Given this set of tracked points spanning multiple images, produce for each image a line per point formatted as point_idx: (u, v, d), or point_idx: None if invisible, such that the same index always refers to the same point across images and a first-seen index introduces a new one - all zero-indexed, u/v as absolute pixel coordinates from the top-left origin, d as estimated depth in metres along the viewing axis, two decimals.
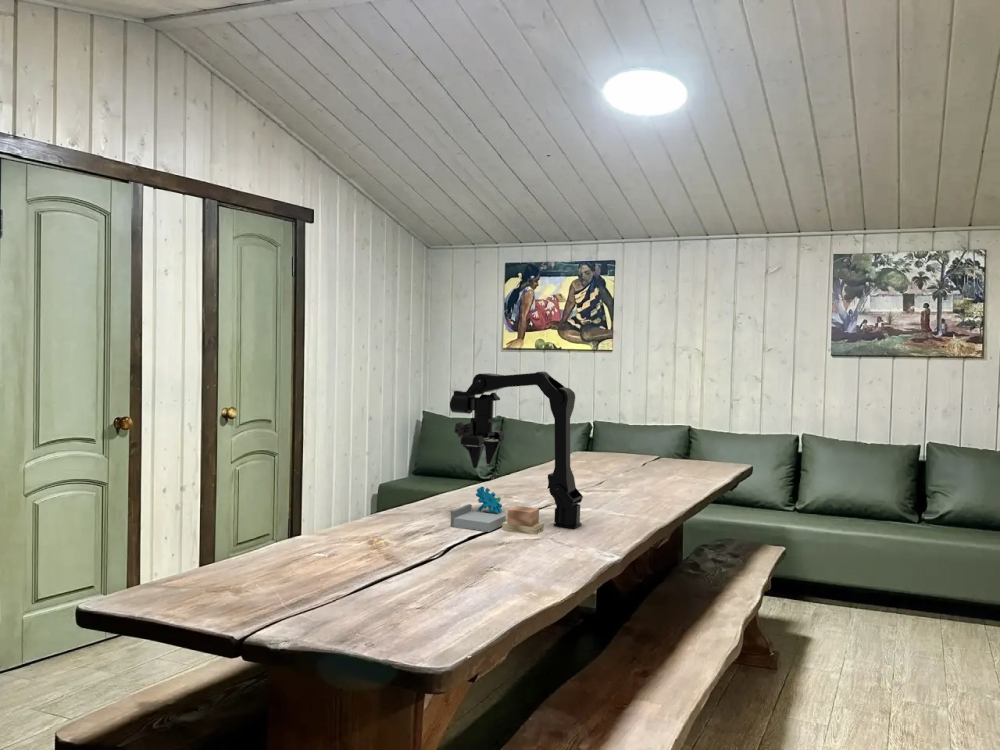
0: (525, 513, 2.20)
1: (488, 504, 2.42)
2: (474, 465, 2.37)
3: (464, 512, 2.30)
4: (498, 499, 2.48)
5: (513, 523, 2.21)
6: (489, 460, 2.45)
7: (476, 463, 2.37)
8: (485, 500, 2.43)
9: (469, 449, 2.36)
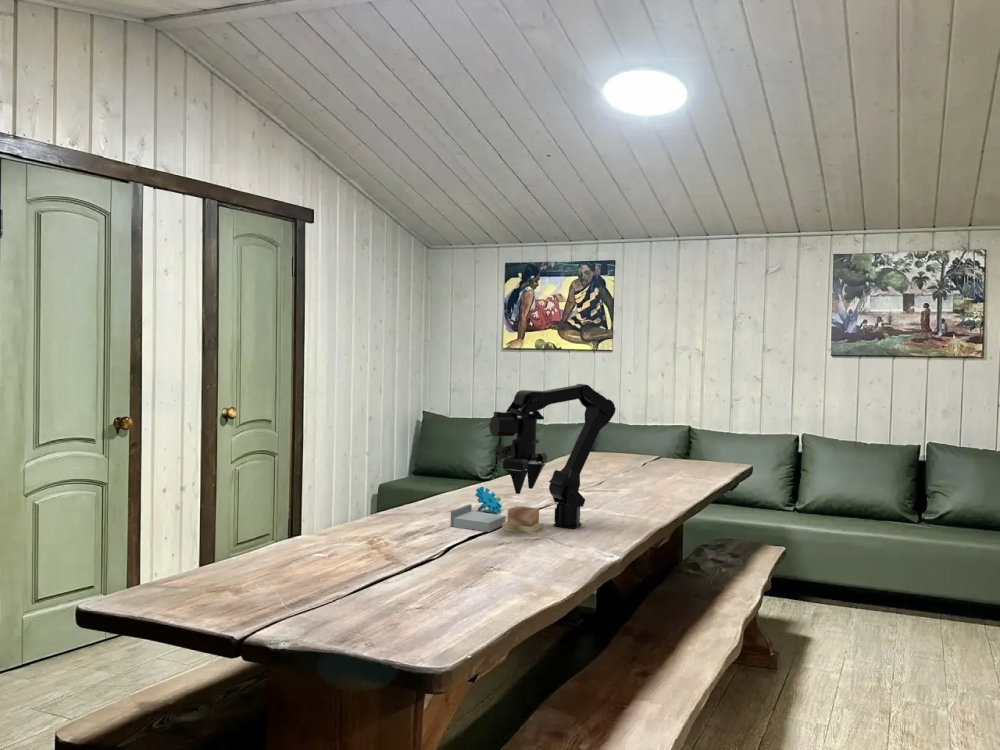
0: (525, 513, 2.20)
1: (488, 504, 2.42)
2: (517, 491, 2.18)
3: (464, 512, 2.30)
4: (498, 499, 2.48)
5: (513, 523, 2.21)
6: (531, 484, 2.27)
7: (519, 488, 2.18)
8: (485, 500, 2.43)
9: (511, 473, 2.17)
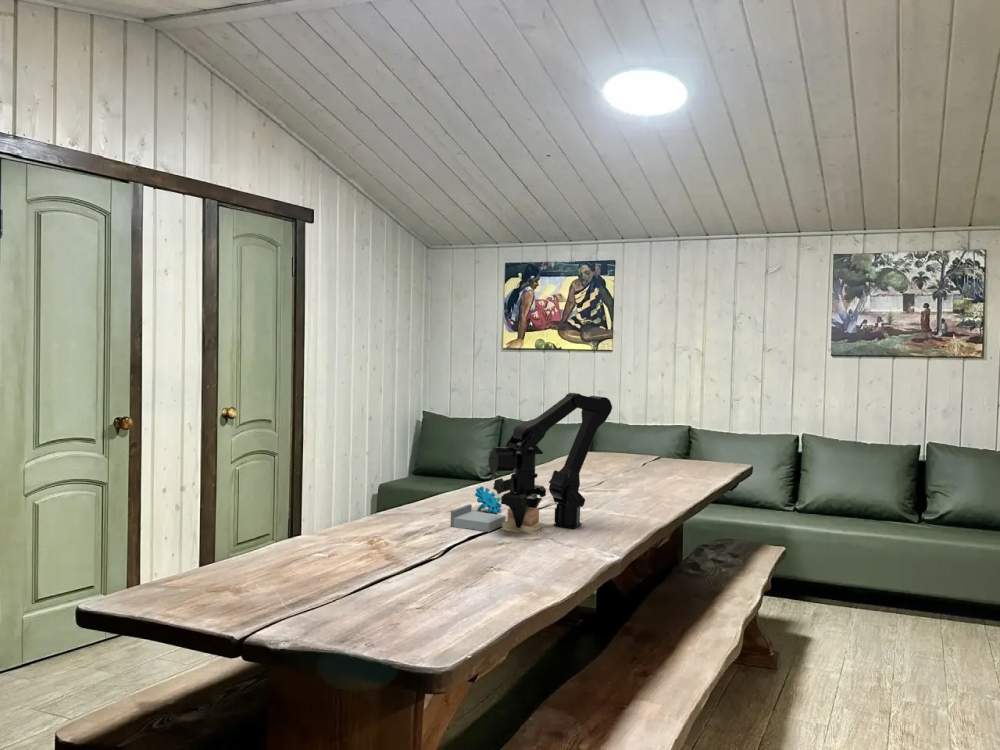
0: None
1: (487, 504, 2.42)
2: (517, 525, 2.20)
3: (464, 512, 2.30)
4: (498, 499, 2.48)
5: (513, 523, 2.21)
6: None
7: (520, 523, 2.20)
8: (484, 500, 2.43)
9: (512, 508, 2.19)
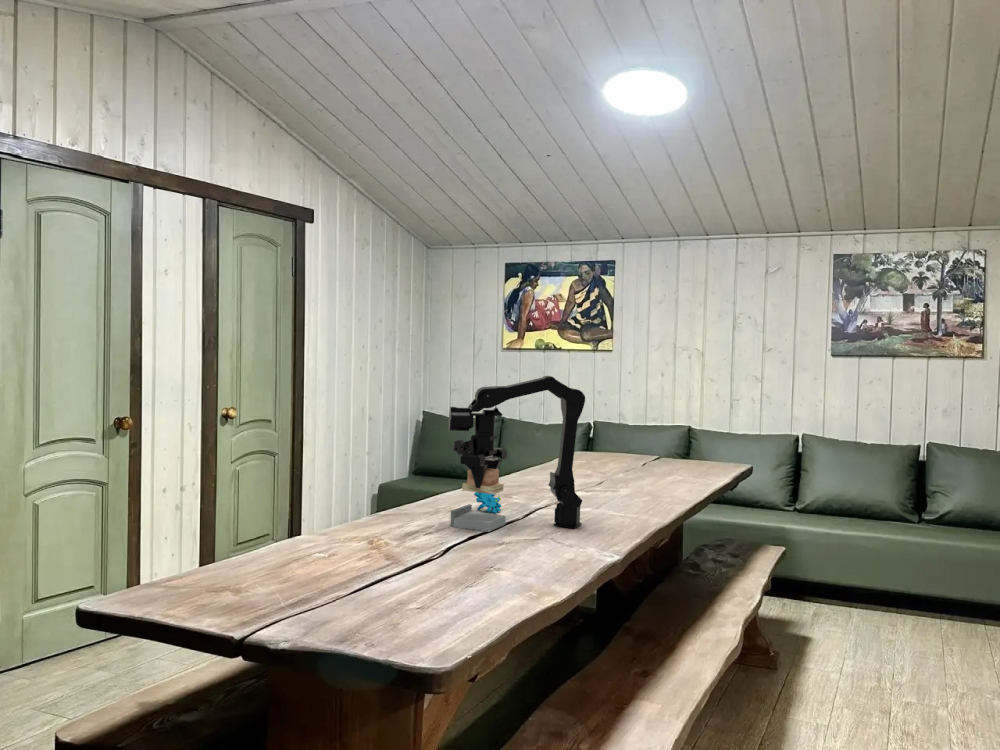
0: None
1: (486, 504, 2.43)
2: (477, 485, 2.23)
3: (464, 512, 2.30)
4: (497, 499, 2.48)
5: (473, 483, 2.24)
6: None
7: (479, 483, 2.22)
8: (483, 500, 2.43)
9: (472, 468, 2.22)
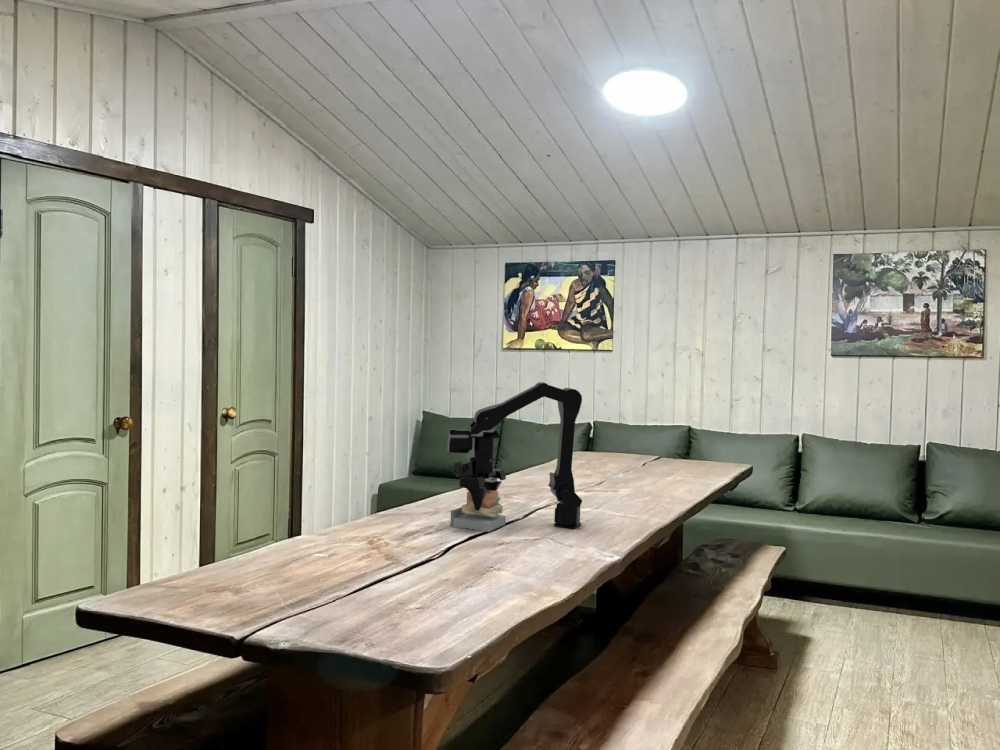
0: None
1: None
2: (476, 507, 2.23)
3: None
4: None
5: (472, 505, 2.24)
6: None
7: (478, 505, 2.23)
8: None
9: (471, 490, 2.22)
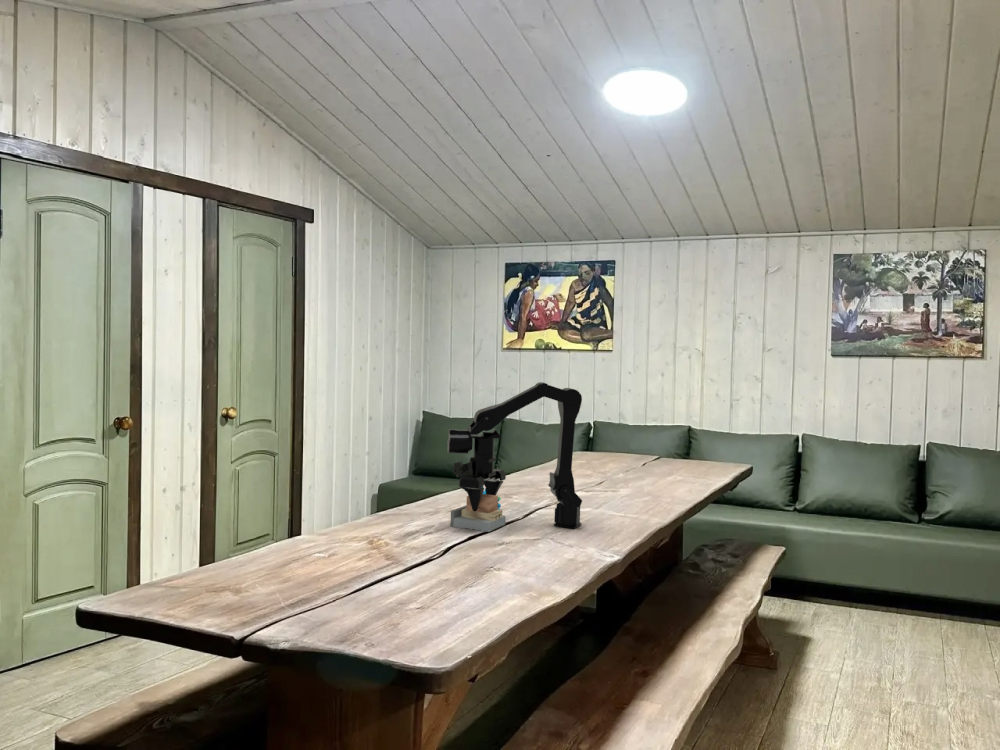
0: (483, 500, 2.23)
1: None
2: (474, 508, 2.22)
3: None
4: None
5: (472, 510, 2.24)
6: None
7: (476, 506, 2.21)
8: None
9: (468, 491, 2.21)
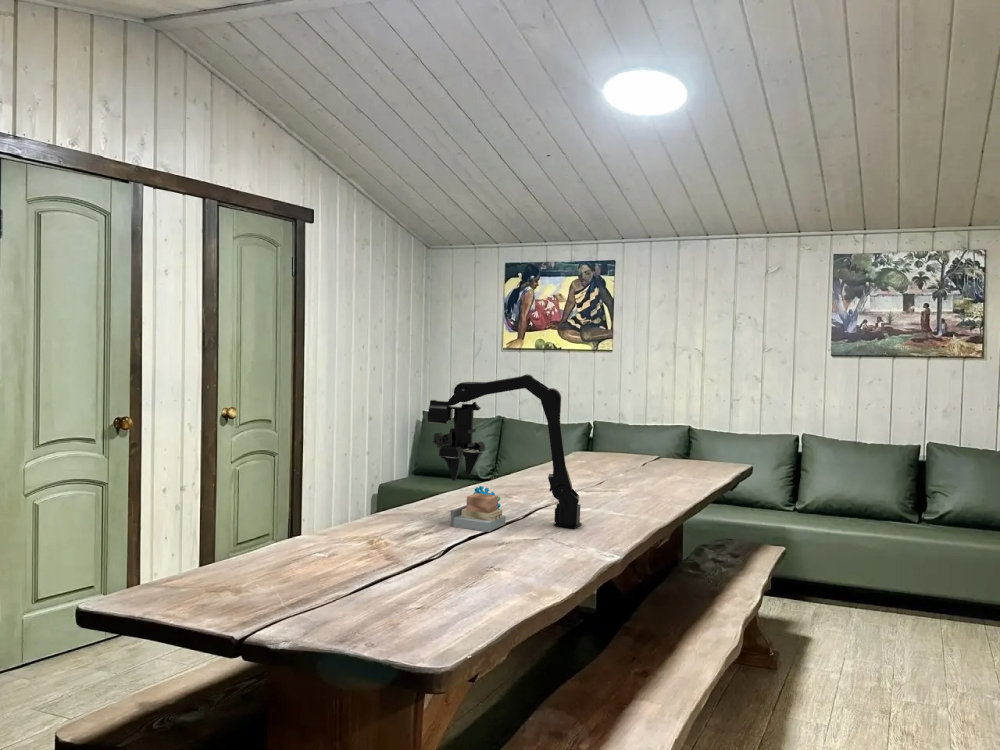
0: (483, 500, 2.23)
1: None
2: (453, 477, 2.29)
3: None
4: None
5: (472, 510, 2.24)
6: (469, 472, 2.37)
7: (455, 475, 2.28)
8: None
9: (448, 461, 2.28)
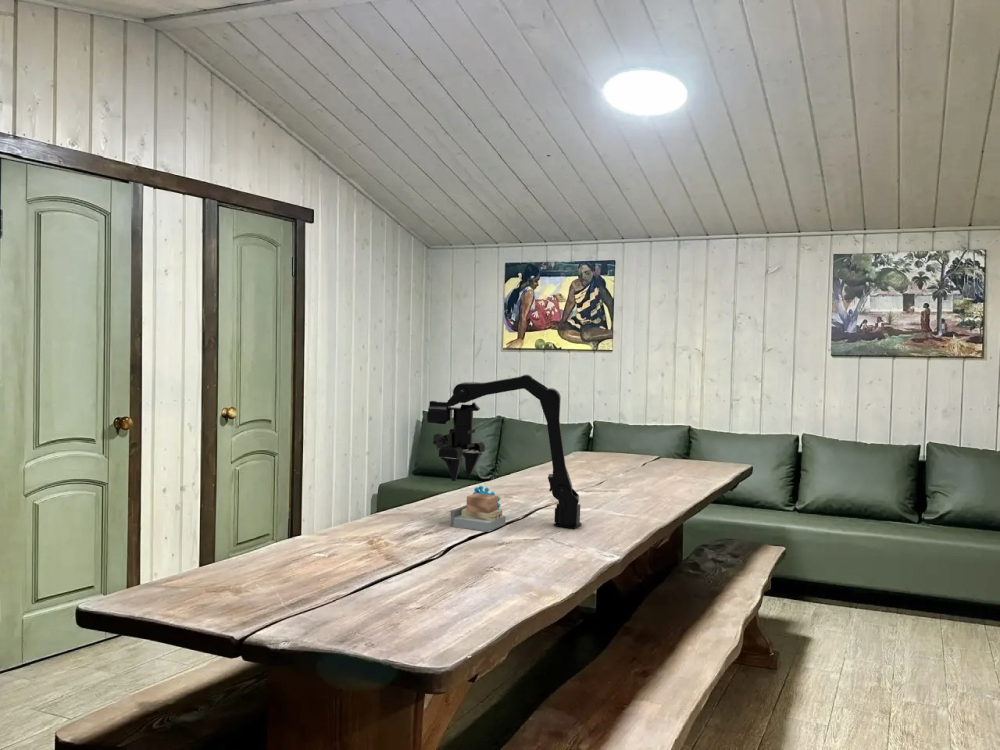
0: (483, 500, 2.23)
1: None
2: (453, 478, 2.29)
3: None
4: None
5: (472, 510, 2.24)
6: (469, 472, 2.37)
7: (455, 476, 2.28)
8: None
9: (447, 461, 2.28)
